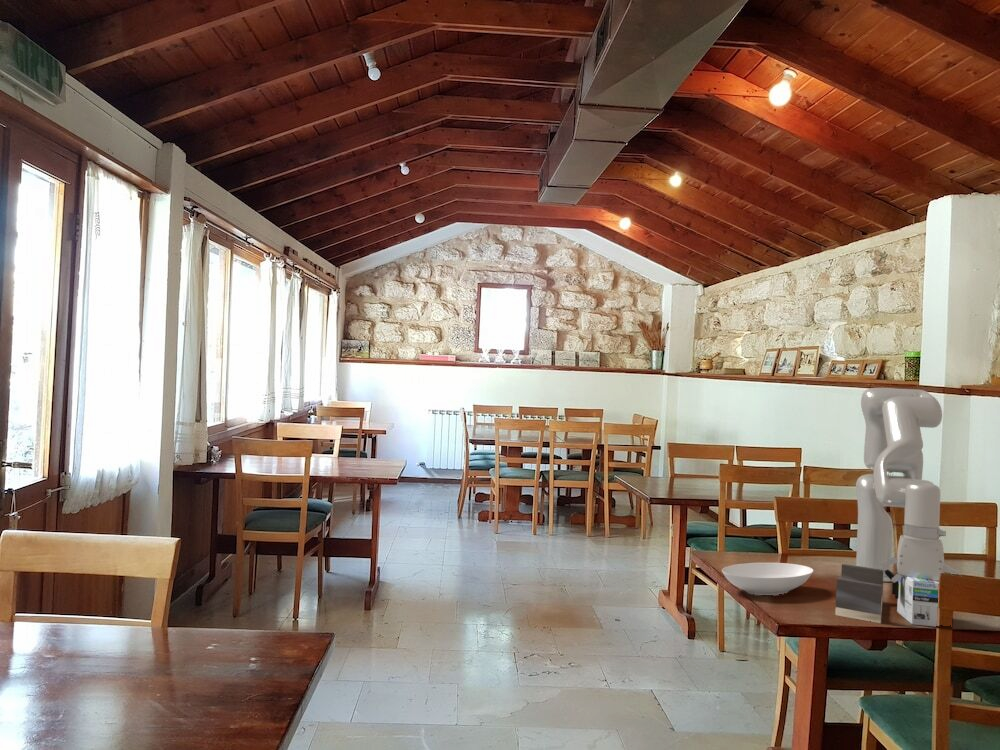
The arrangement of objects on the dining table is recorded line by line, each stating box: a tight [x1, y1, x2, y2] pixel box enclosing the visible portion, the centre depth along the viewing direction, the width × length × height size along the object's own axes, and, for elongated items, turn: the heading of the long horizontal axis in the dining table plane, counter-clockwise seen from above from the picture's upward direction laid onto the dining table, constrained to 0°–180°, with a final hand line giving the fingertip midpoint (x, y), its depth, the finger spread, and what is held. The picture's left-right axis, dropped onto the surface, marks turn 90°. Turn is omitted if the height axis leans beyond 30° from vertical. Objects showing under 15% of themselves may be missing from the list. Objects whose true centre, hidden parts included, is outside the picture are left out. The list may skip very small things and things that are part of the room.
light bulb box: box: [896, 576, 939, 628], centre depth 175 cm, size 11×7×11 cm, turn 168°
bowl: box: [721, 562, 814, 596], centre depth 194 cm, size 30×15×6 cm, turn 114°
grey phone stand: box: [834, 563, 884, 624], centre depth 181 cm, size 20×10×9 cm, turn 150°
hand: (918, 601), depth 175 cm, fingers open, 9 cm apart
